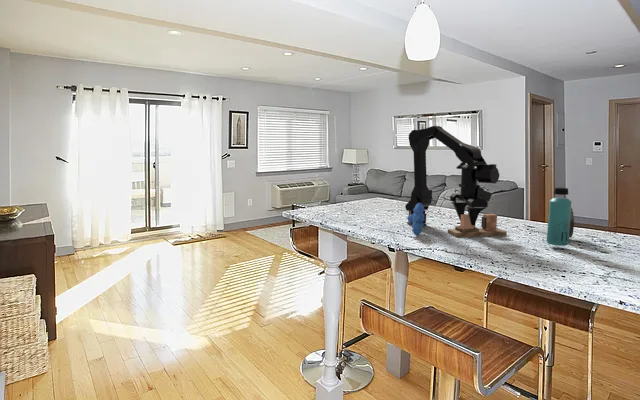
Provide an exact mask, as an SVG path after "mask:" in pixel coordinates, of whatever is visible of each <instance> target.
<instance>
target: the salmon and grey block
mask: <svg viewBox="0 0 640 400" xmlns="http://www.w3.org/2000/svg"><path fill="white" fill-rule="evenodd" d="M459 222H460V223H459V226H460V228H462V229H475V227H476V224H475V225H471V222H470V218H469V214H468V213H467V214H466V213H464V214H461V220H460V219H459Z"/></svg>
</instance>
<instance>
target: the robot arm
mask: <svg viewBox="0 0 640 400" xmlns="http://www.w3.org/2000/svg"><path fill="white" fill-rule="evenodd" d="M434 139H436V140H437V141H439V142H440V143H442V144H443V145H444V146H446V147H447V148H448V149H450V150H451V151H453V153H454V154H455V156H456V158H457V159H458V160H459V161H460V164H458V165H457V166H456V169H457V170H461V172H460V173H461V174H460V183H458V187H459V188H460V193H452V194H451V195H449V201H451V204H452V205H453V207H454V210H455V212H456V214H457V216H458V220H459V221H460V220H461V214H465V213H466V209H467V214H469V218H470V222H471V225H475V226H476V223H477V220H478V217H479V215H480V213H481V212H482V211H483V210H486V208H488V207H489V202H490V201H491V198H492V196H493V193H492V192H490V191H488V190H485V189H484V187H481V185H480V184H478V183H484V184H494V185H495V184H497V183H498V181H499V179H500V171H499V169H498V167H497V164H496V163H490V164H488V163H487V161H486V160H485V159H484V157H483V155H482V150H480V148H478V147H476V146H474V145H472V144H468V143H465V142H463V141H461V140H460V139H459V138H457V137H455V136H454V135H453V134H451V133H449V132H448V131H447V130H445V129H444V128H443V127H442V126H441V125H431V126H429V127H425V128H421V129H413V130H411V131H410V132H409V133H408V143H409V146H410V148H411V150H412V152H413V177H414V187H413V189H412V191H411V193H410V199H409V201H408V202H407V203H406V204H405V205H404V207H405V211H406V212H408V216H409V215H411V214H413V213H414V211H413V209H414V208H415V206H416V204H418V203H421V204H422V205H423V207H424V209H425V210H424V211H423V212H422V213H423V214H424V215H425V217H424V219H425V220H424V221H423V223H424V226H427V213H426V211H428V210H429V207H430V205H431V204H432V201H433V190H432V189H429V188H428V186H427V184H428V183H427V153H426V152H427V149H428V148H429V146H430V140H434ZM406 224H408V225H409V226H411V225H412V224H413V223H410V222H409V221H408V220H407V222H406ZM424 226H423V227H424Z"/></svg>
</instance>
